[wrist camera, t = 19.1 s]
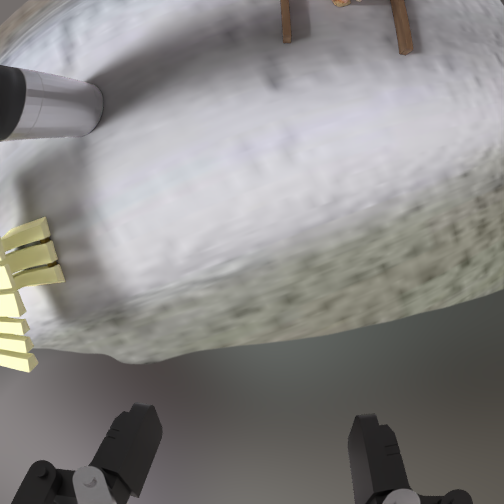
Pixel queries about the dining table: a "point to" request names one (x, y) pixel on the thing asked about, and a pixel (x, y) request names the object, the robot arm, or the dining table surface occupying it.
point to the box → (399, 19)
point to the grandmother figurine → (342, 2)
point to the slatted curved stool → (6, 285)
